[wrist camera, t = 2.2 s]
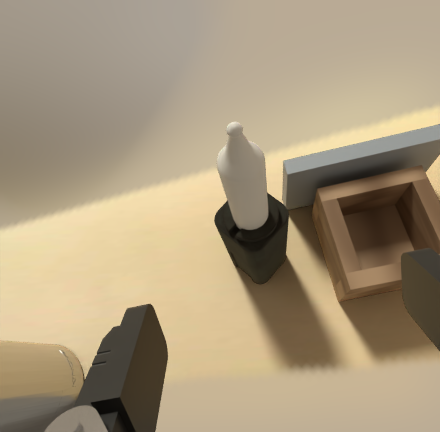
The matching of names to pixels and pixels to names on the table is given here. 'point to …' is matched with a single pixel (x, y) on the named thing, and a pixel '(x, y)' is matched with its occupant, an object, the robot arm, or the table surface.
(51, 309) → the table surface
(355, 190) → the socket block
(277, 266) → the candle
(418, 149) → the backstop wall
